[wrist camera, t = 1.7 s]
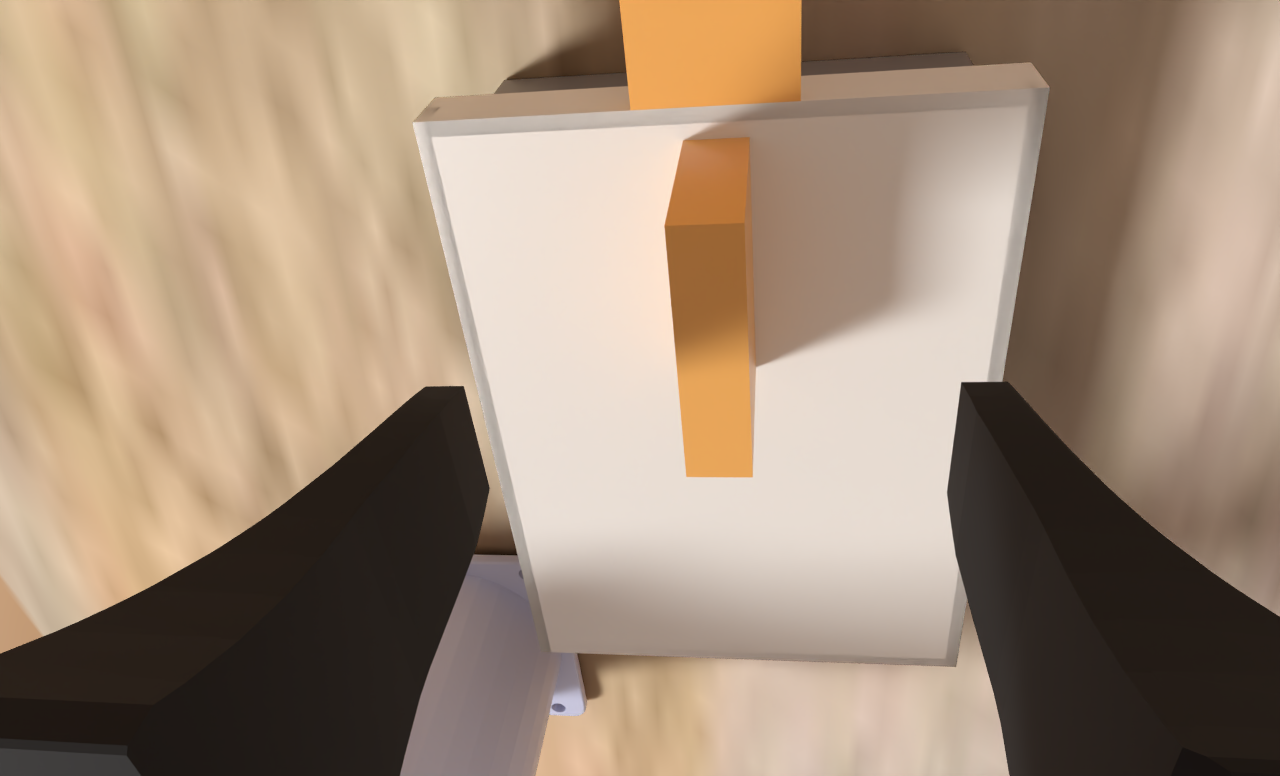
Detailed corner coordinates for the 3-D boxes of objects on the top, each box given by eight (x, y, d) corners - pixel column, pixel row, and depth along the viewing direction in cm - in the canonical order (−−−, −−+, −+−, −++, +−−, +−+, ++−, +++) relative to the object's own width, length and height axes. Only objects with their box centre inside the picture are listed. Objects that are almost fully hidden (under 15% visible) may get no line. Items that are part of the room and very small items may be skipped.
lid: (550, 613, 27) (512, 765, 23) (410, -11, 17) (300, 71, 13) (948, 624, 25) (980, 791, 21) (1048, -60, 15) (1144, 17, 11)
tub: (584, 528, 29) (564, 615, 26) (504, 80, 21) (461, 136, 18) (914, 533, 27) (930, 626, 24) (965, 51, 19) (998, 108, 16)
